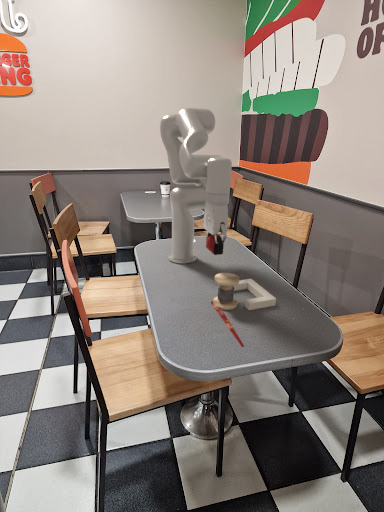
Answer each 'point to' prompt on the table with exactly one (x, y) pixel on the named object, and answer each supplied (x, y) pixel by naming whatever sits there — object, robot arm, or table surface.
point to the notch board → (262, 295)
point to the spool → (226, 291)
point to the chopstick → (227, 323)
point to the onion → (211, 242)
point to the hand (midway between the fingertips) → (214, 250)
